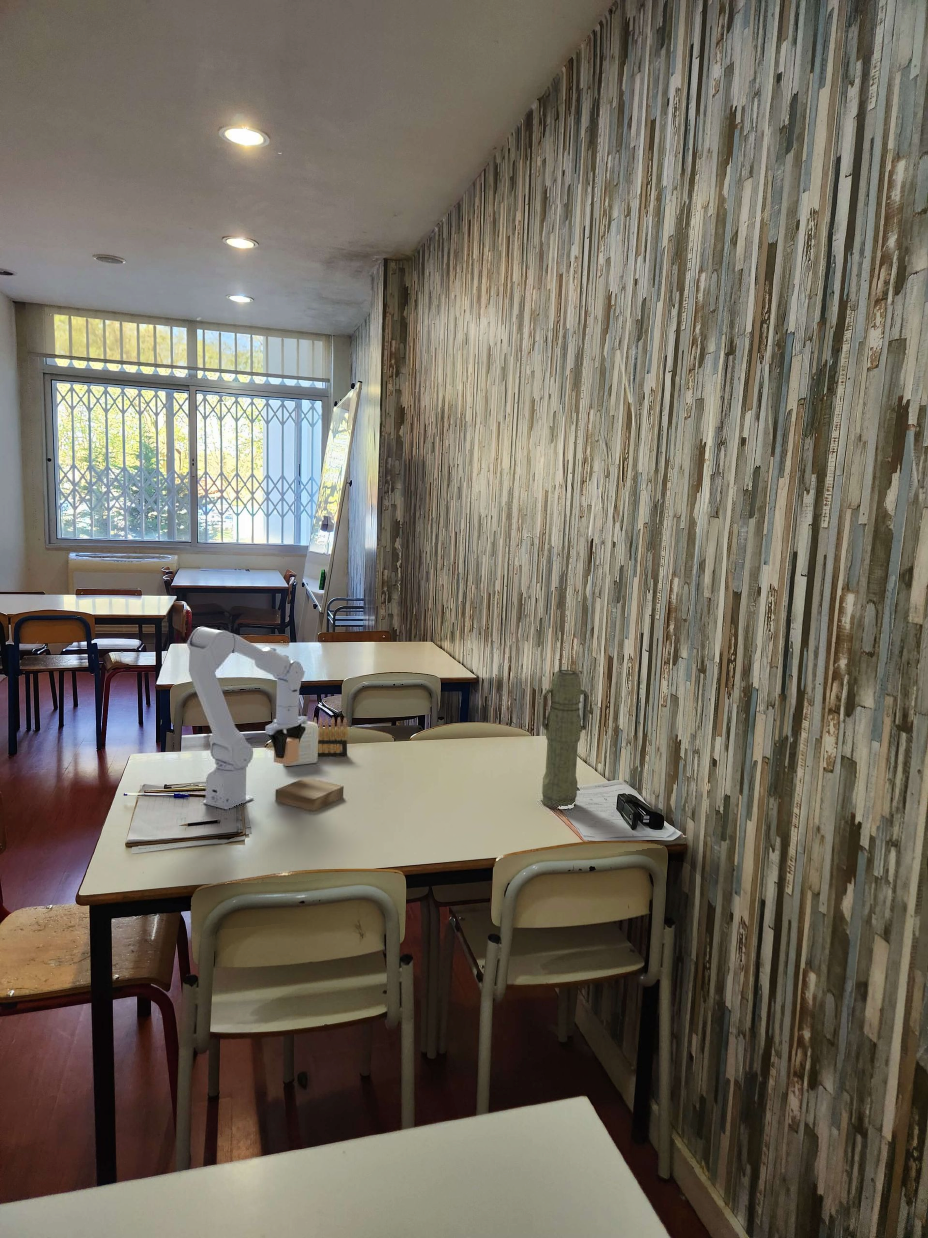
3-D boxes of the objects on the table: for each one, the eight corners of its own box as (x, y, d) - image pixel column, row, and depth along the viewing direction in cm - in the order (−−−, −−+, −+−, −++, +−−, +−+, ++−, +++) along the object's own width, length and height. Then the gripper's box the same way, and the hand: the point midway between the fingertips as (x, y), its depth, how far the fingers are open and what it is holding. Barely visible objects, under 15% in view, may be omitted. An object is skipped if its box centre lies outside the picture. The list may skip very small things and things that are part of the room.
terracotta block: (287, 765, 206) (287, 742, 205) (273, 762, 208) (274, 739, 207) (298, 761, 210) (298, 739, 209) (285, 758, 212) (285, 736, 211)
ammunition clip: (311, 757, 235) (312, 717, 234) (311, 755, 237) (312, 716, 236) (347, 756, 237) (348, 717, 236) (346, 754, 239) (348, 716, 238)
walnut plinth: (313, 811, 191) (313, 799, 191) (275, 801, 197) (275, 789, 197) (343, 797, 202) (343, 786, 202) (306, 788, 207) (306, 777, 207)
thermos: (531, 799, 208) (539, 668, 204) (573, 797, 210) (582, 668, 206) (542, 811, 199) (550, 674, 195) (585, 809, 202) (595, 675, 198)
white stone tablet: (313, 759, 233) (315, 718, 232) (319, 763, 230) (320, 721, 228) (280, 763, 227) (281, 721, 226) (285, 767, 224) (286, 725, 222)
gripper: (293, 698, 215) (292, 746, 217) (256, 707, 202) (255, 759, 204) (314, 701, 212) (312, 751, 213) (278, 711, 199) (276, 764, 201)
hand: (286, 755), depth 208 cm, fingers closed on terracotta block, 4 cm apart
